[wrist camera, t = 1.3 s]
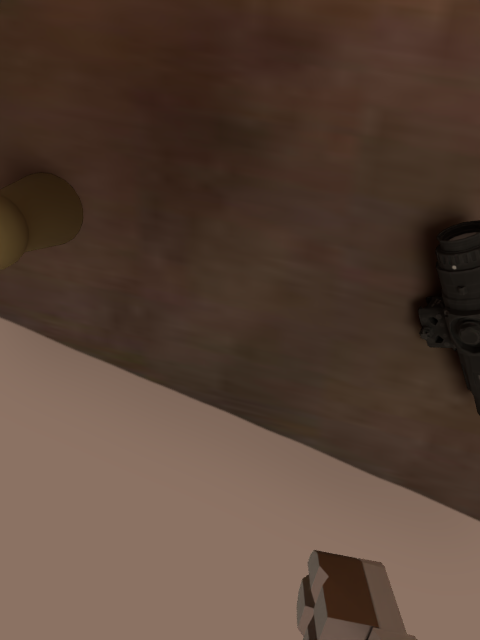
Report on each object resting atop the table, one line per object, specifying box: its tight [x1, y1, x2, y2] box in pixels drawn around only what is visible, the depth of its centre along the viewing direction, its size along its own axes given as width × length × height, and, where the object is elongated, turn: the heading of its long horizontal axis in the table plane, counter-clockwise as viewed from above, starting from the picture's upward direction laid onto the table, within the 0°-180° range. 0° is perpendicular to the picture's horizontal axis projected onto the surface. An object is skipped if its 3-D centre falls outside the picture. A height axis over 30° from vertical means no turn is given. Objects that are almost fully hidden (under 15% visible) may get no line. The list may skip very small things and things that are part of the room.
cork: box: [0, 173, 83, 270], centre depth 33 cm, size 6×6×11 cm
